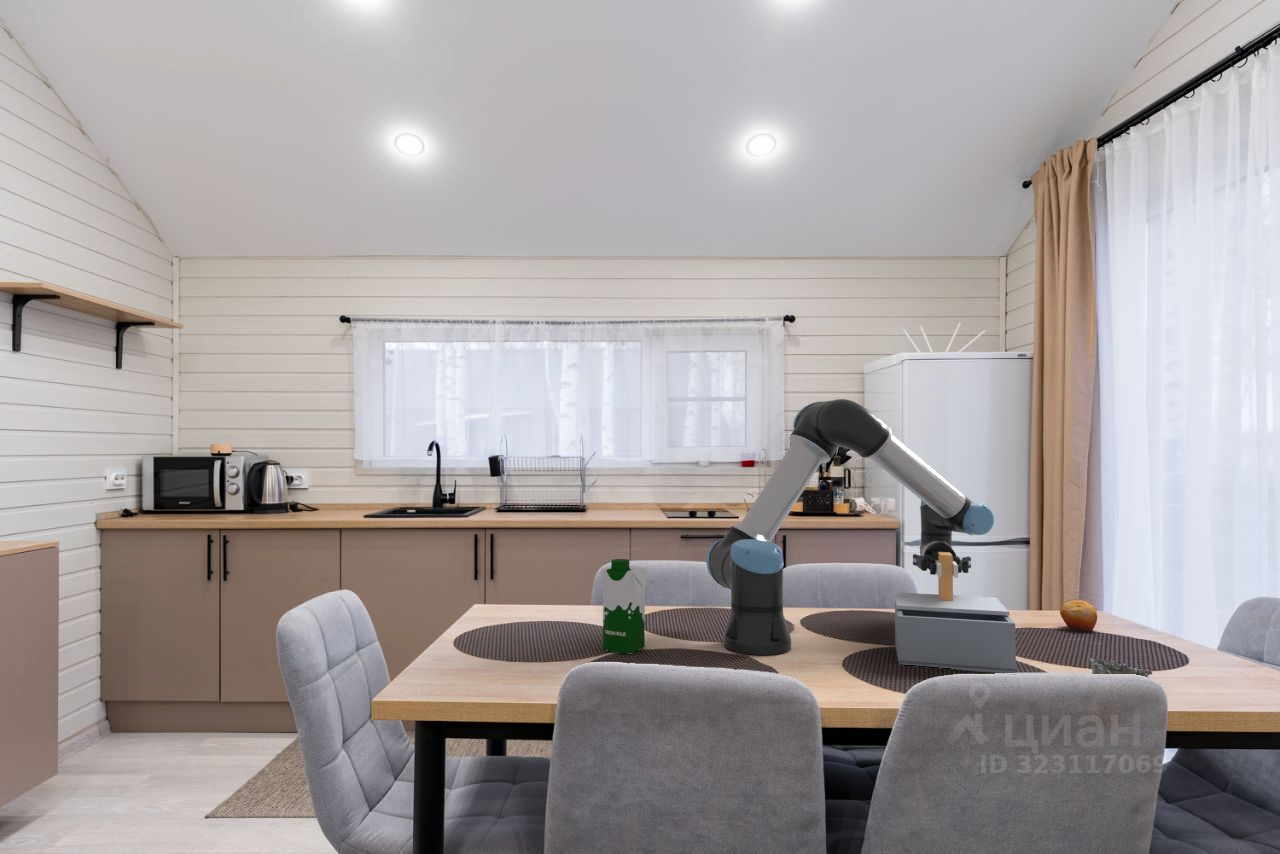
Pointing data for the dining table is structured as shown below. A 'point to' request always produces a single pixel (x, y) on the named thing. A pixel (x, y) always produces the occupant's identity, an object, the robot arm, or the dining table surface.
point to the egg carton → (1115, 668)
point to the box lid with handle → (949, 596)
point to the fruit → (1079, 615)
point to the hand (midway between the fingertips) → (947, 570)
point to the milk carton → (623, 607)
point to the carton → (956, 640)
